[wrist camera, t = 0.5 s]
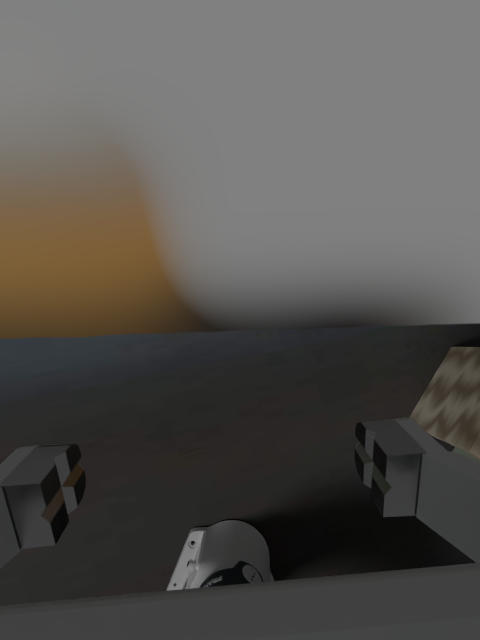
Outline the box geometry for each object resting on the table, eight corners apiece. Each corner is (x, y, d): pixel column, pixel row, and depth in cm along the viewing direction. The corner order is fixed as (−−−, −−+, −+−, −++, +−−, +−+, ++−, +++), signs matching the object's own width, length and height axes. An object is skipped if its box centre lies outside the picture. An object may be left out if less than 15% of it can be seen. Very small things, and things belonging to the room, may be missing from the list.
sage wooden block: (466, 474, 59) (502, 494, 51) (446, 461, 60) (480, 479, 52) (476, 456, 60) (513, 474, 52) (456, 444, 60) (491, 459, 52)
